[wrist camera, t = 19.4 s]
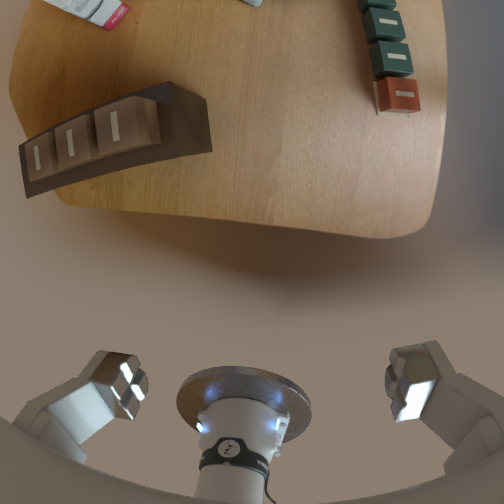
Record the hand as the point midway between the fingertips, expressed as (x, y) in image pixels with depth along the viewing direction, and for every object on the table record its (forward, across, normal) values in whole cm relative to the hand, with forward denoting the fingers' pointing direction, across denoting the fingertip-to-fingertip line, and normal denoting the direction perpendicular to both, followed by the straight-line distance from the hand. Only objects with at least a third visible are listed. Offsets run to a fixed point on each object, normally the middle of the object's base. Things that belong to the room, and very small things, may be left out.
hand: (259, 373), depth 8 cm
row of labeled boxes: (+29, -16, -19) cm, 38 cm away
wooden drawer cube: (+29, -16, -12) cm, 35 cm away
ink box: (+29, +22, -34) cm, 50 cm away
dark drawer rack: (+29, +19, -10) cm, 36 cm away
